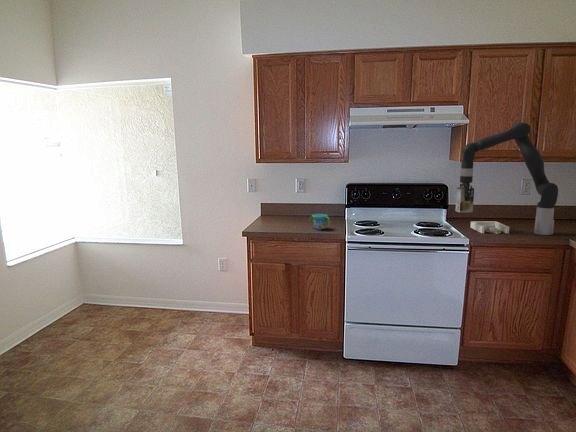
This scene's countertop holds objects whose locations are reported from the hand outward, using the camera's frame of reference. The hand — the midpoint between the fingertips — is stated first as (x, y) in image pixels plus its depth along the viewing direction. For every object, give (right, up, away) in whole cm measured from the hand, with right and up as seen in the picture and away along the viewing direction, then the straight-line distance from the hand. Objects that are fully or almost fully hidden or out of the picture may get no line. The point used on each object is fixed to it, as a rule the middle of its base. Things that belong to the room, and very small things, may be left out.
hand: (464, 200), depth 248 cm
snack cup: (-95, -20, +16) cm, 99 cm away
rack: (+17, -21, +3) cm, 27 cm away
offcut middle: (+17, -21, -3) cm, 27 cm away
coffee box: (0, -8, +1) cm, 8 cm away
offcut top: (+17, -19, -3) cm, 26 cm away
